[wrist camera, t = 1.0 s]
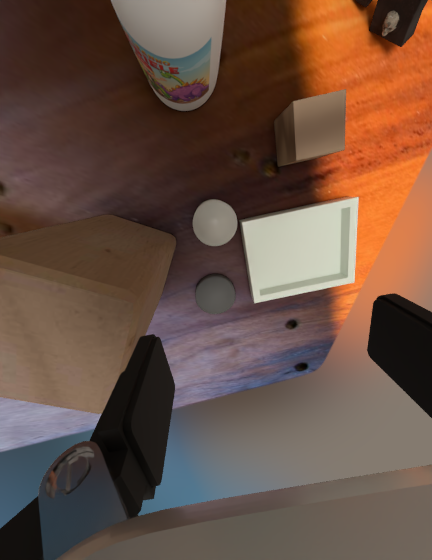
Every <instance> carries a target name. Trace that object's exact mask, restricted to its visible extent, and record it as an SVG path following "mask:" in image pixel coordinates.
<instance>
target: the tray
mask: <svg viewBox="0 0 432 560" xmlns="http://www.w3.org/2000/svg"><path fill="white" fill-rule="evenodd" d="M358 198H359V197H342V198H338V199H333V200H329V201H324V202H320V203H315V204H310V205H306V206H301V207H297V208H292V209H288V210H283V211H279V212H274V213H269V214H265V215H260V216H256V217H251V218H247V219H242V220H239V223H240V229H241V236H242V242H243V248H244V254H245V261H246V267H247V273H248V279H249V286H250V292H251V297H252V299H253V301H254V303H257V302H262V301H267V300H272V299H277V298H282V297H286V296H291V295H296V294H301V293H306V292H310V291H315V290H320V289H325V288H330V287H334V286H339V285H344V284H349V283H354V281H355V260H356V239H357V219H358Z"/></svg>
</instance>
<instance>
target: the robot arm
mask: <svg viewBox="0 0 432 560" xmlns="http://www.w3.org/2000/svg"><path fill="white" fill-rule="evenodd" d="M367 351H368V354H369V356H370V358H371V359H372V360H373V361H374V362H375V363H376V364H377V365H378V366H379V367H380V368H381V369H383V371H384V372H385V373H387V374H388V376H389V377H391V378H392V379H393V380H394V381H395V382H396V383H397V384H398V385H399V386H400V387H401V388H402V389H403V390H404V391H405V392H406V393H407V394H408V395H409V396H410V397H411V398H412V399H413V400H414V401H415V402H416V403H417V404H418V405H419V406H420V407H421V408H422V409H423V410H424V411H425V412H426V413H427V414H428V415H429V416H430V417H431V418H432V312H430V311H428V310H426V309H425V308H423V307H421V306H419V305H417V304H415V303H413V302H411V301H409V300H407V299H405V298H403V297H401V296H400V295H397V294H387V295H381V296H379V297H378V298H377V299H376V300H375V301H374V303H373V310H372V318H371V325H370V333H369V341H368V349H367ZM174 393H175V384H174V380H173V377H172V374H171V371H170V367H169V364H168V361H167V358H166V355H165V352H164V349H163V346H162V343H161V340H160V338H159V337H156V336H155V335H154V334H152V335H147V336H141V337H140V338H139V340H138V342H137V344H136V347H135V349H134V351H133V353H132V356H131V358H130V360H129V362H128V365H127V367H126V369H125V371H123V372H122V373H121V374H120V376H119V378H118V380H117V382H116V385H115V387H114V389H113V391H112V393H111V395H110V398H109V400H108V402H107V404H106V406H105V408H104V410H103V413H102V415H101V417H100V419H99V421H98V423H97V426H96V428H95V430H94V432H93V434H92V437H91V439H90V441H83V442H81V443H78V444H75V445H74V446H72V447H71V448H69V449H67V450H66V451H65V452H64V453H62V454H61V455H60V456H59V457H58V458H57V459H56V460H55V461H54V462H53V464H52V465H51V466H50V468H49V469H48V470H47V472H46V473H45V475H44V477H43V479H42V481H41V484H40V487H39V494H38V497H37V498H35V499H34V500H33V501H32V502H31V503H30V504H28V505H27V506H26V507H25V508H24V509H23V510H21V511H20V512H19V513H18V514H17V515H16V516H15V517H13V518H12V519H11V520H10V521H9V522H8V523H6V524H5V525H4V526H3V527H2V528H1V529H0V560H432V465H427V466H421V467H414V468H409V469H402V470H396V471H389V472H383V473H376V474H370V475H364V476H358V477H351V478H345V479H339V480H333V481H326V482H320V483H314V484H308V485H302V486H296V487H290V488H284V489H278V490H272V491H266V492H259V493H254V494H248V495H242V496H235V497H229V498H223V499H218V500H213V501H207V502H202V503H197V504H191V505H186V506H181V507H175V508H170V509H165V510H161V511H157V512H153V513H149V514H145V515H141V516H138V513H139V512H140V511H141V507H142V502H143V500H148V499H154V494H155V488H156V486H158V485H160V483H161V480H162V474H163V467H164V460H165V453H166V447H167V439H168V433H169V426H170V419H171V412H172V406H173V399H174Z"/></svg>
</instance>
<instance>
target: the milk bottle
mask: <svg viewBox="0 0 432 560" xmlns="http://www.w3.org/2000/svg"><path fill="white" fill-rule="evenodd" d="M111 2H112V5H113V7H114V9H115V12H116V14H117V16H118V19H119V21H120V23H121V25H122V28H123V30H124V32H125V34H126V36H127V38H128V40H129V42H130V44H131V46H132V49H133V51H134V53H135V55H136V57H137V59H138V61H139V63H140V65H141V67H142V69H143V71H144V73H145V75H146V77H147V79H148V81H149V83H150V85H151V87H152V89H153V90H154V92H155V94H156V95H157V96H158V98H159V99H160V100H161V101H162V102H163V103H165V104H166V105H167V106H169V107H171V108H173V109H175V110H179V111H190V110H194V109H196V108H198V107H200V106H201V105H203V104H204V103H205V102H206V101H207V100H208V98H209V97H210V96H211V94H212V92H213V90H214V87H215V84H216V81H217V75H218V69H219V61H220V52H221V44H222V35H223V26H224V16H225V7H226V0H111Z"/></svg>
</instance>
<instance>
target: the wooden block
mask: <svg viewBox="0 0 432 560" xmlns="http://www.w3.org/2000/svg"><path fill="white" fill-rule="evenodd" d="M175 246H176V238H175V237H174V236H173V235H171V234H169V233H166V232H163V231H160V230H157V229H154V228H151V227H148V226H145V225H142V224H138V223H135V222H132V221H129V220H126V219H123V218H120V217H117V216H114V215H111V214H108V215H101V216H96V217H92V218H87V219H83V220H78V221H74V222H69V223H65V224H60V225H56V226H51V227H47V228H42V229H38V230H33V231H29V232H24V233H20V234H15V235H11V236H6V237H2V238H0V397H3V398H9V399H15V400H21V401H27V402H33V403H39V404H44V405H50V406H56V407H62V408H68V409H74V410H79V411H85V412H91V413H97V414H100V413H103V410H104V408H105V406H106V404H107V402H108V400H109V398H110V395H111V393H112V391H113V389H114V387H115V385H116V382H117V380H118V378H119V376H120V374H121V373H122V372H123V371H125V369H126V367H127V365H128V362H129V360H130V358H131V356H132V353H133V351H134V349H135V347H136V344H137V342H138V340H139V338H140V337H141V336H145V334H146V332H147V329H148V327H149V325H150V322H151V320H152V317H153V315H154V312H155V310H156V307H157V305H158V303H159V300H160V298H161V295H162V293H163V289H164V285H165V282H166V278H167V275H168V271H169V268H170V264H171V261H172V257H173V254H174V250H175Z"/></svg>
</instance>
